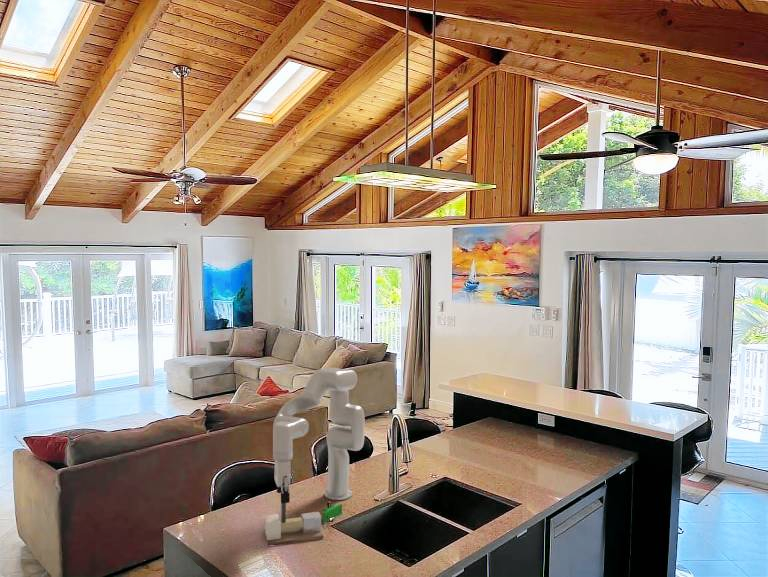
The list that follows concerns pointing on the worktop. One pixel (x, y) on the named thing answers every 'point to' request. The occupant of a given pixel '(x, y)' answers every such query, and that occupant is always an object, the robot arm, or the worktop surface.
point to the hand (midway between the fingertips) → (283, 497)
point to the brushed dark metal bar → (289, 520)
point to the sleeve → (311, 522)
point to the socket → (272, 527)
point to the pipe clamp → (331, 512)
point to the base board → (294, 537)
